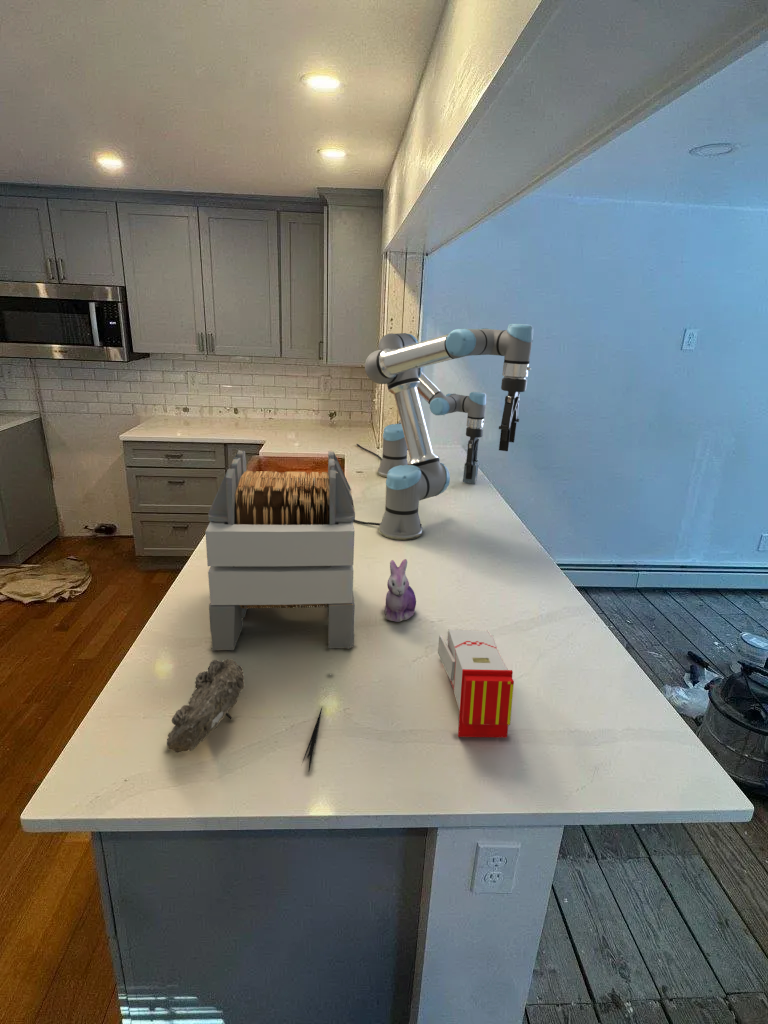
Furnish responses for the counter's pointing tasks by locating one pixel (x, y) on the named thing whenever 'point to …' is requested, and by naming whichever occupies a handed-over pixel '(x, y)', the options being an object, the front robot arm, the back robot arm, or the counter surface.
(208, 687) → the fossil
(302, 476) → the transformer
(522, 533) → the counter surface
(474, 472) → the brick
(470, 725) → the toy
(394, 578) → the figurine
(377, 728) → the counter surface
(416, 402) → the front robot arm
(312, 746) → the feather
